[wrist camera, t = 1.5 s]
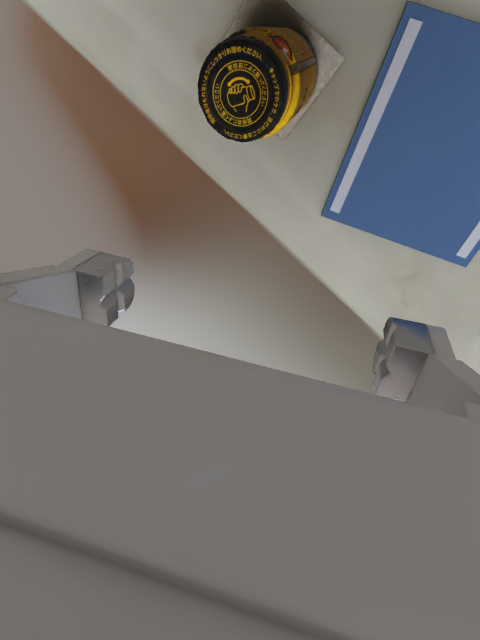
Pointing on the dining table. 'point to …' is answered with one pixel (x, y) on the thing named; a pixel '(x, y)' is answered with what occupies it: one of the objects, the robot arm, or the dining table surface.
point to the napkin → (419, 142)
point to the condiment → (264, 72)
